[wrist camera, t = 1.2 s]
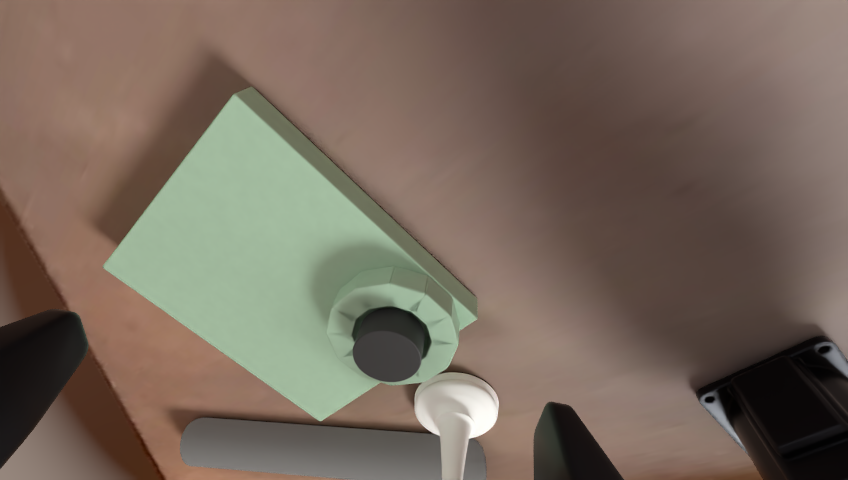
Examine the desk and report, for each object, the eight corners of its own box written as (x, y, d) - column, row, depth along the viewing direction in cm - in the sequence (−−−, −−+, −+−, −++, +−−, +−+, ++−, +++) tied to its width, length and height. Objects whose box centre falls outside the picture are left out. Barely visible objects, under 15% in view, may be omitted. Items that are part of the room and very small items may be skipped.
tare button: (438, 337, 20) (436, 362, 19) (393, 367, 21) (387, 392, 20) (391, 296, 19) (385, 319, 18) (347, 329, 20) (338, 353, 19)
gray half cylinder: (484, 478, 29) (484, 505, 27) (205, 455, 31) (190, 479, 29) (486, 435, 27) (487, 462, 25) (187, 414, 29) (171, 438, 27)
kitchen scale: (483, 304, 22) (484, 345, 19) (333, 404, 27) (318, 448, 24) (252, 85, 18) (214, 101, 15) (124, 250, 23) (78, 283, 20)
